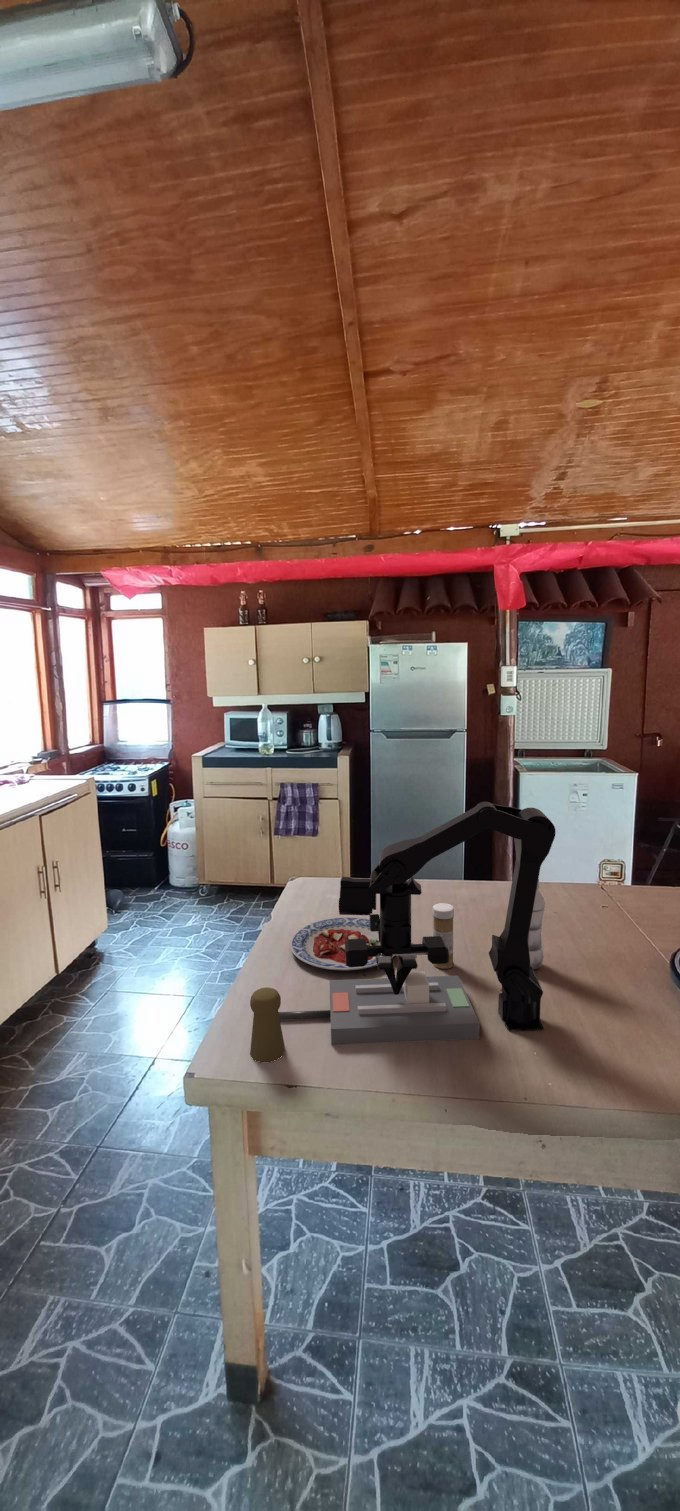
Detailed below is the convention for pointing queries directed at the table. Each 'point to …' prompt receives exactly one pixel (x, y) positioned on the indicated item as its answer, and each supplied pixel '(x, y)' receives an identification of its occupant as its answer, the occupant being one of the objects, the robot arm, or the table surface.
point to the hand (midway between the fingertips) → (396, 993)
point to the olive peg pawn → (266, 1026)
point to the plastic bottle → (536, 931)
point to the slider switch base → (395, 1012)
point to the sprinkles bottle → (444, 929)
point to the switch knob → (416, 988)
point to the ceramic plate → (332, 942)
